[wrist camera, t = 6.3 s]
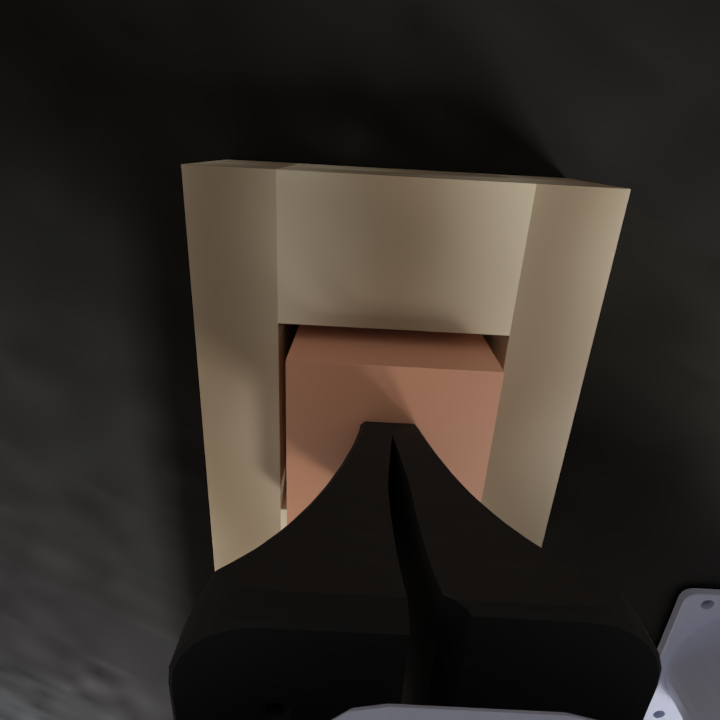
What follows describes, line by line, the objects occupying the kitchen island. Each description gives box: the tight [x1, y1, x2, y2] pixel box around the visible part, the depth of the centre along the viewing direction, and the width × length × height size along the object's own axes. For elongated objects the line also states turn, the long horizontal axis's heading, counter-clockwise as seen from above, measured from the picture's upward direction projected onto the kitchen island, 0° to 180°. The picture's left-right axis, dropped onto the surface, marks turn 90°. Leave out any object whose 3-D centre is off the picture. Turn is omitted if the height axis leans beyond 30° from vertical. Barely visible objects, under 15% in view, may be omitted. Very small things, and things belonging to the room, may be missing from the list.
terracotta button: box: [286, 324, 505, 525], centre depth 14 cm, size 5×5×3 cm
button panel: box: [181, 159, 631, 571], centre depth 18 cm, size 10×23×4 cm, turn 177°
